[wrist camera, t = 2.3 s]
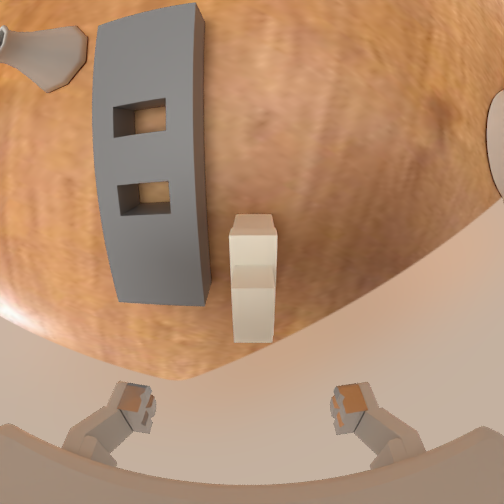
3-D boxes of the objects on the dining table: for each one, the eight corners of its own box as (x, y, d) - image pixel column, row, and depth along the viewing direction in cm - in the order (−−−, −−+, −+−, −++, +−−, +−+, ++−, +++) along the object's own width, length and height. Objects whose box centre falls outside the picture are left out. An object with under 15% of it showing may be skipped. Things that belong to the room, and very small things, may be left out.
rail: (204, 21, 16) (195, 2, 13) (211, 282, 26) (204, 306, 22) (119, 38, 17) (98, 25, 13) (134, 280, 26) (118, 301, 22)
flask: (96, 63, 18) (26, 42, 8) (45, 105, 19) (-26, 107, 9) (83, 16, 15) (23, -12, 6) (34, 57, 16) (-29, 48, 7)
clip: (271, 209, 23) (281, 255, 14) (269, 291, 26) (275, 364, 17) (236, 209, 23) (223, 255, 14) (238, 291, 26) (231, 363, 18)
